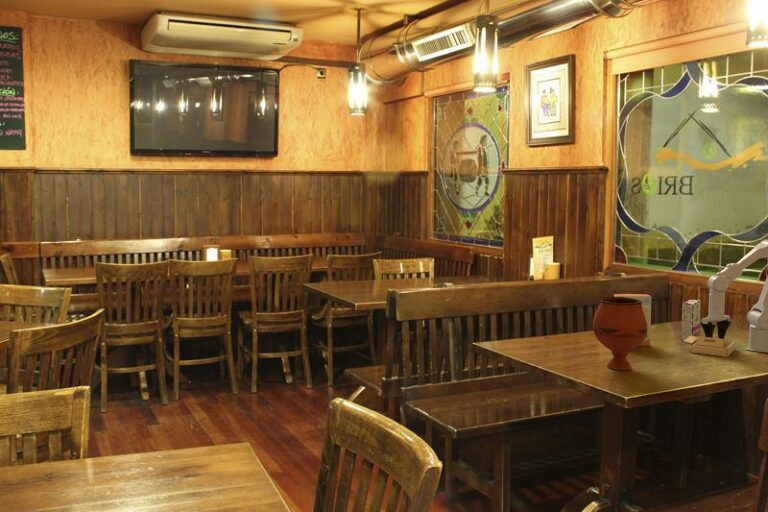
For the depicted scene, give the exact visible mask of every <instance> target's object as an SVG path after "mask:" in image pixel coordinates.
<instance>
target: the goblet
mask: <svg viewBox="0 0 768 512" xmlns="http://www.w3.org/2000/svg"><path fill="white" fill-rule="evenodd" d="M592 330H593V333H594V336H595V338H596V339H597V341H598V342H599V343H600V344H602V346H603V347H605V348H606V349H608V350H610V351H611V354H612V356H613V357H612V358H611V359H610V360H609V361H608V363H607V364H606V367H609V368H608V369H610V368H612V369H611V370H613V369H616V370H615V371H629V370H632V365H631V364H630V362H629V361H628V360H627V357H628V356H629V352H631V351H633V350H635V349H637V348H638V347H640V346H639V345H640V344H641V343H642V342H643V340H644V339H645V337H646V334H647V322H646V318H645V315H644V313H643V309H642V301H641V300H638V299H633V298H625V297H614V296H607V297H604V298H600V302H599V305H598V307H597V310H596V312H595V314H594V317H593V319H592Z"/></svg>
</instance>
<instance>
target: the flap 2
mask: <svg viewBox="0 0 768 512" xmlns="http://www.w3.org/2000/svg"><path fill="white" fill-rule="evenodd" d="M723 340H725V338H724V339H720V338H718V337H713V338H710V337H705V336H697V340H696V341H695V343H696V344H699V345H707V346H716V347H723Z"/></svg>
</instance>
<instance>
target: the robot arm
mask: <svg viewBox="0 0 768 512" xmlns="http://www.w3.org/2000/svg"><path fill="white" fill-rule="evenodd" d="M763 258H766V259H767V260H768V239H766V238H765V239H763V240H762V241H760V242H759V243H757V244H756V245H755V246H754V247H753V248H752V250H750V251H749V252H748V253H746V255H744V256H743V257H742V258H741V259H740V260H738V262H736V263H735V262H733V263H732V262H731V263H727V264H726V265H725V268H724V269H722V270H721V271H718V272H717V273H716V275H711V277H709V278H708V281H706V285H707V287H708V288H709V294H708V295H709V296H708V297H709V299H708V315H707V316H706V317H703V318H701V319H702V320H701V321H700V327H701V328H702V329H703V332H704V337H710V338H714V331H715V328H716V327H717V328H716V329H717V338H719V339H724V340H725V337H726V333H727V331H728V329H729V327H730V325H731V323H732V321H730V319H731V317H730V315H729V314H728V315H727V314H725V305H726V304H725V303H726V290H727V289H729V286H730V284H731V283H733V282H734V281H735V280H737V279H738V278H739V277H740V276H741V275H742V274H743V270H744V269H746V268H747V267H749V266H750V265H752V264H753V263H755V262H756V261H757V260H759V259H763ZM746 321H747V322H748V323H749V330H748V331H749V332H748V334H749V335H748V346H747V347H746V348H745V351H752V352H760V353H766V354H767V353H768V275H767V276H766V279H765V282H764V285H763V287H762V290H761V292H760V295H759V298H758V301H757V302H756V303H755V304H753V306H752V307H751V309H750V310H749V311H748V313H747V315H746ZM713 323H715V324H713Z"/></svg>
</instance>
